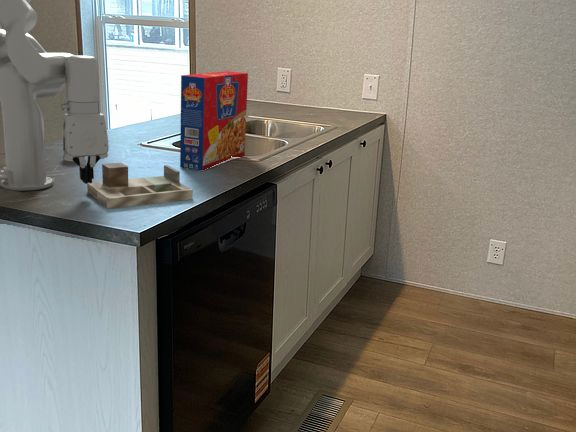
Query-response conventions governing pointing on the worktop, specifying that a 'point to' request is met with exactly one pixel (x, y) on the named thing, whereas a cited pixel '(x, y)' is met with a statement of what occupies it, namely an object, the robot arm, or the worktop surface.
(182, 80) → the pasta box
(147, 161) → the worktop surface
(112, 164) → the walnut block
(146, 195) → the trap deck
